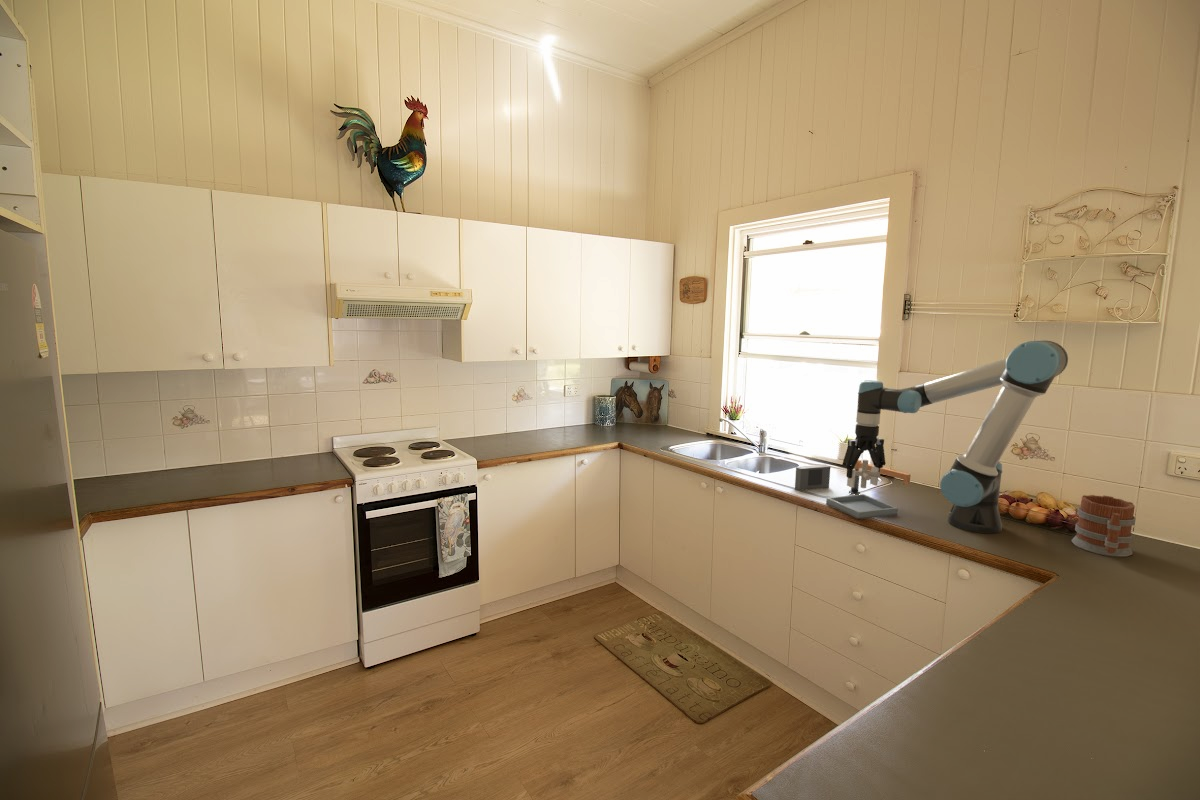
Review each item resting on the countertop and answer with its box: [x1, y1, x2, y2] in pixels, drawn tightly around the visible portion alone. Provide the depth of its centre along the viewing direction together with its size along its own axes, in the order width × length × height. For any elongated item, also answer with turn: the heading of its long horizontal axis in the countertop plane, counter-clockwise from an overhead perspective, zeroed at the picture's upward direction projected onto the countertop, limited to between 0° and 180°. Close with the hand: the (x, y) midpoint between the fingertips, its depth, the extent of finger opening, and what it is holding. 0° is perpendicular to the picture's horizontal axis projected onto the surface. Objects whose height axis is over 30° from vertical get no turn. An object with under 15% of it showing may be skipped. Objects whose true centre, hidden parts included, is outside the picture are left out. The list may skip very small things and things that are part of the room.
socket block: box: [794, 464, 831, 492], centre depth 231 cm, size 3×14×9 cm, turn 107°
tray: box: [825, 493, 899, 520], centre depth 206 cm, size 17×17×2 cm
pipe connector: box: [855, 459, 881, 489], centre depth 204 cm, size 10×10×10 cm
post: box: [848, 469, 861, 495], centre depth 224 cm, size 4×4×10 cm
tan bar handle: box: [854, 459, 912, 486], centre depth 215 cm, size 3×23×4 cm, turn 31°
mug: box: [1071, 494, 1136, 558], centre depth 170 cm, size 14×19×15 cm
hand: (862, 485), depth 205 cm, fingers closed on pipe connector, 9 cm apart
